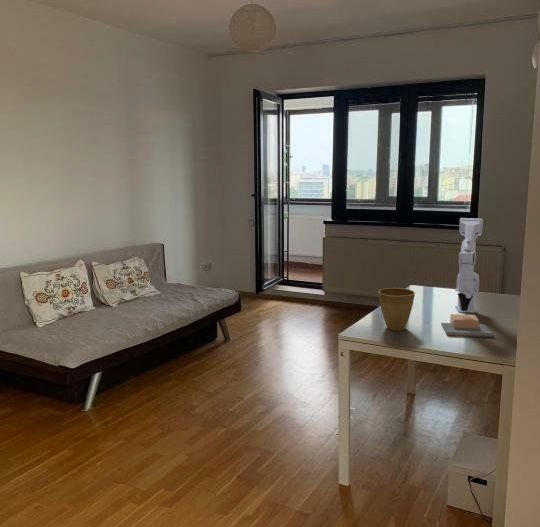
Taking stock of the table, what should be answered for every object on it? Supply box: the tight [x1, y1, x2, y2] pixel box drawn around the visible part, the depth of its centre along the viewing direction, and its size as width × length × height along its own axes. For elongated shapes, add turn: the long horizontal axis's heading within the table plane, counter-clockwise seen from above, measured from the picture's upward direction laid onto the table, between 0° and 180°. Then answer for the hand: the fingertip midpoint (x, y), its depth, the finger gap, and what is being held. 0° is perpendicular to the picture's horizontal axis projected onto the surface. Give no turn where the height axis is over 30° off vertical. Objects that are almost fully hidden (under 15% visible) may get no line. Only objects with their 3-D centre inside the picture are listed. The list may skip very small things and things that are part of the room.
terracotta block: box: [449, 313, 480, 329], centre depth 230 cm, size 4×10×8 cm
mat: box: [440, 322, 495, 339], centre depth 226 cm, size 16×18×2 cm
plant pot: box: [378, 287, 416, 332], centre depth 229 cm, size 15×15×16 cm
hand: (464, 310), depth 231 cm, fingers closed
